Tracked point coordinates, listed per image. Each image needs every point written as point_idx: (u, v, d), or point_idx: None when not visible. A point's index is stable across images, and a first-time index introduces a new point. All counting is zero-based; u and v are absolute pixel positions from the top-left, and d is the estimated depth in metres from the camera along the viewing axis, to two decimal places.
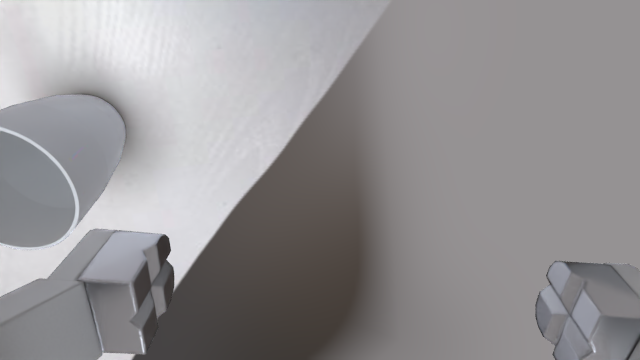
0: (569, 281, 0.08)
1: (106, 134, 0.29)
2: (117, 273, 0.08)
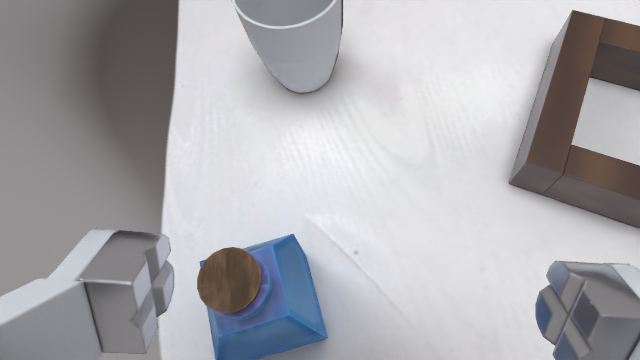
0: (569, 281, 0.08)
1: (275, 69, 0.35)
2: (117, 273, 0.08)
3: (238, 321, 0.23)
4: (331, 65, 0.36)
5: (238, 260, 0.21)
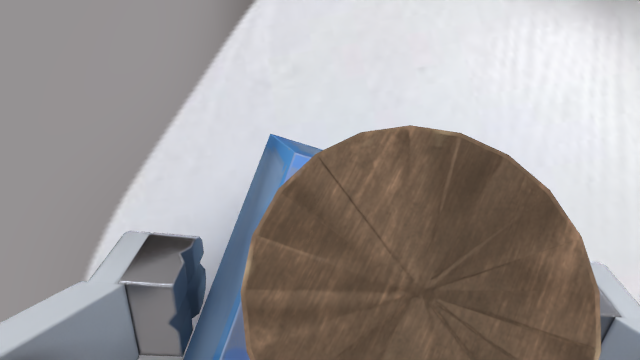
0: None
1: None
2: (157, 276, 0.08)
3: None
4: None
5: (508, 232, 0.04)
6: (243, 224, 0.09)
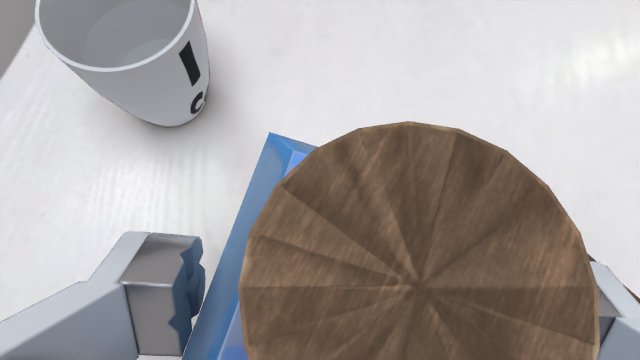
0: None
1: None
2: (156, 276, 0.08)
3: None
4: (181, 112, 0.28)
5: (507, 227, 0.04)
6: (242, 222, 0.09)
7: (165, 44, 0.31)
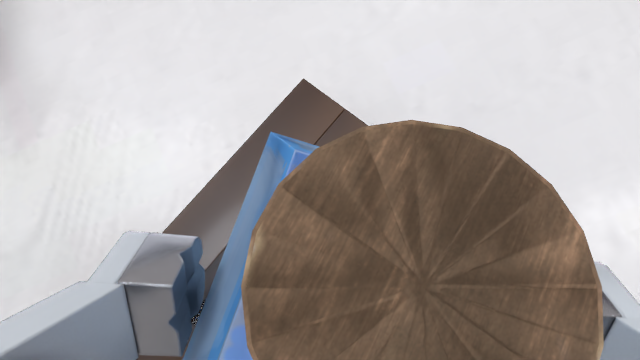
0: None
1: None
2: (156, 276, 0.08)
3: None
4: None
5: (510, 226, 0.04)
6: (243, 222, 0.09)
7: None
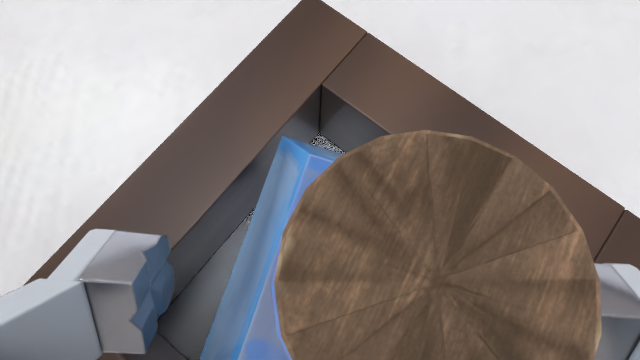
0: None
1: None
2: (117, 273, 0.08)
3: None
4: None
5: (516, 226, 0.04)
6: (258, 222, 0.09)
7: None
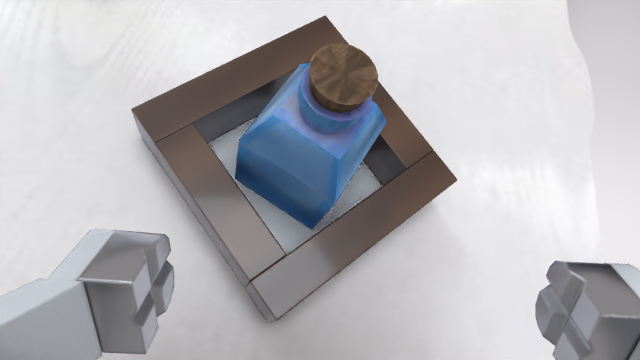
0: (569, 281, 0.08)
1: None
2: (117, 273, 0.08)
3: (298, 122, 0.22)
4: None
5: (364, 69, 0.19)
6: (284, 87, 0.24)
7: None
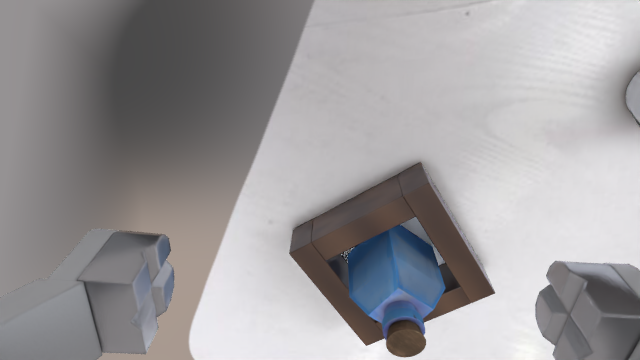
0: (569, 281, 0.08)
1: None
2: (117, 273, 0.08)
3: (392, 299, 0.37)
4: (636, 113, 0.34)
5: (407, 352, 0.35)
6: (425, 283, 0.38)
7: None
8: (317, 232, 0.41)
